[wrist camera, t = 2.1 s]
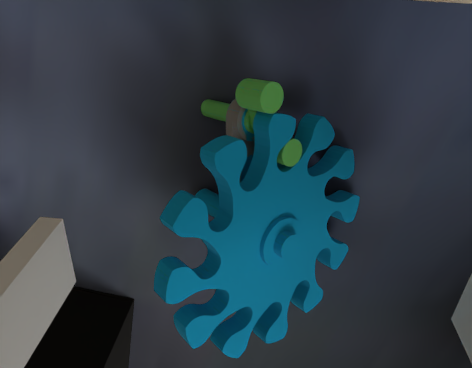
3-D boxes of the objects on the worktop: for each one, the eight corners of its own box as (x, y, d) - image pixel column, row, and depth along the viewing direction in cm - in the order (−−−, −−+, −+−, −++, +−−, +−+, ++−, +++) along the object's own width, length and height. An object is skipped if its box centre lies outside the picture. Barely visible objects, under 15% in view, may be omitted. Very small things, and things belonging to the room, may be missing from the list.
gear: (359, 302, 20) (185, 419, 14) (275, 253, 24) (116, 327, 18) (387, 69, 16) (157, 101, 10) (280, 61, 20) (78, 79, 14)
